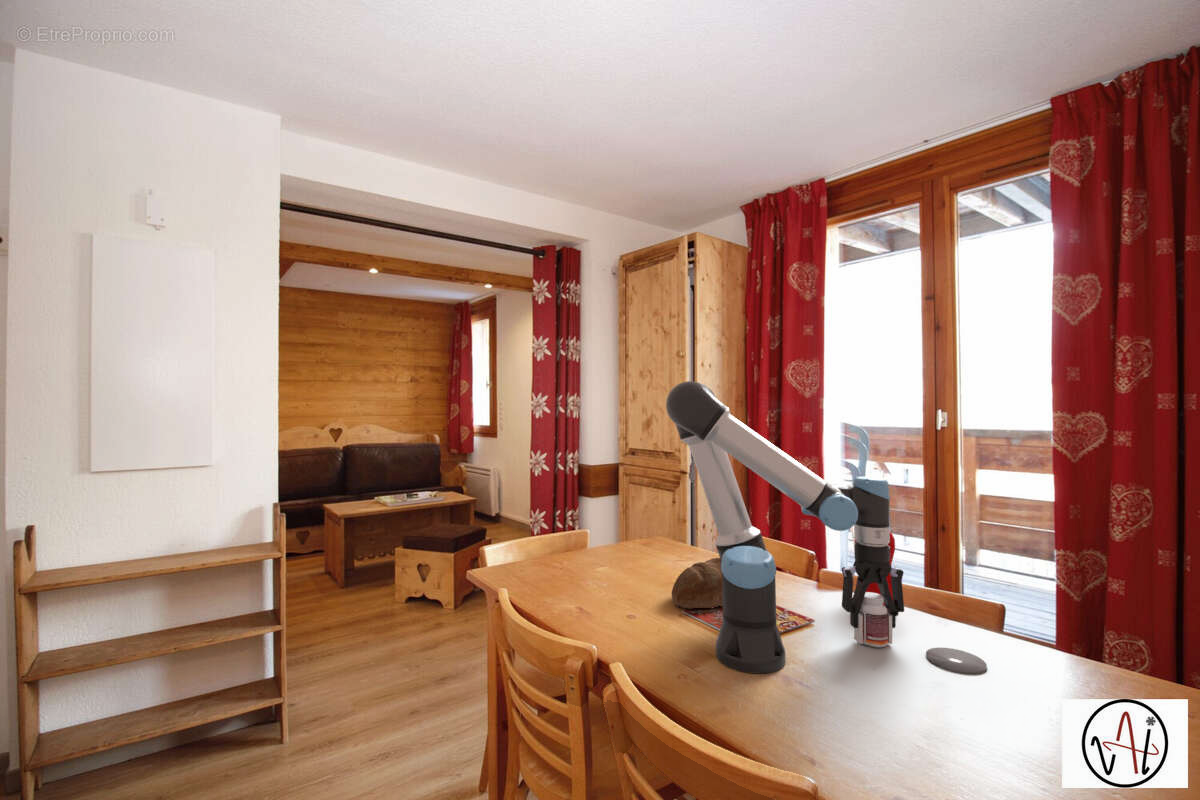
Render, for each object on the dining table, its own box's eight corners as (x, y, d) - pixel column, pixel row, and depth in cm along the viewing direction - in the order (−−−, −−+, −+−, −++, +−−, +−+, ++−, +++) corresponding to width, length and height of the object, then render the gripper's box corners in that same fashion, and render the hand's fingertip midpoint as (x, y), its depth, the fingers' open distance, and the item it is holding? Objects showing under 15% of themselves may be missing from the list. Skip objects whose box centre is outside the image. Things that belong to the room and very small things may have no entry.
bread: (768, 595, 158) (767, 557, 159) (698, 618, 142) (697, 575, 142) (728, 582, 171) (727, 546, 172) (659, 601, 155) (659, 562, 155)
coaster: (946, 674, 110) (946, 671, 110) (915, 650, 121) (915, 647, 121) (999, 673, 110) (999, 670, 110) (963, 649, 121) (963, 647, 121)
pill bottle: (893, 644, 124) (892, 596, 124) (879, 650, 120) (878, 602, 120) (867, 634, 129) (867, 589, 129) (853, 640, 125) (852, 594, 126)
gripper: (838, 546, 121) (839, 648, 121) (922, 546, 121) (923, 648, 121) (824, 538, 129) (825, 634, 128) (903, 538, 129) (904, 634, 128)
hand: (873, 640), depth 124 cm, fingers closed on pill bottle, 6 cm apart
